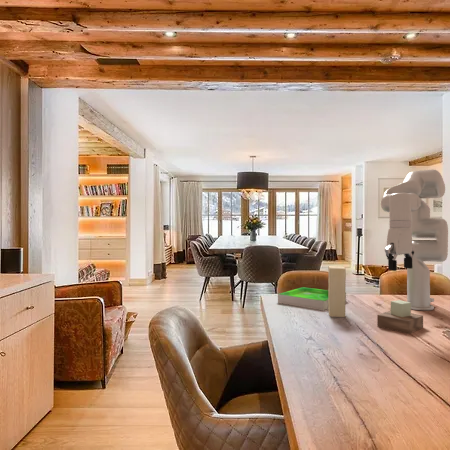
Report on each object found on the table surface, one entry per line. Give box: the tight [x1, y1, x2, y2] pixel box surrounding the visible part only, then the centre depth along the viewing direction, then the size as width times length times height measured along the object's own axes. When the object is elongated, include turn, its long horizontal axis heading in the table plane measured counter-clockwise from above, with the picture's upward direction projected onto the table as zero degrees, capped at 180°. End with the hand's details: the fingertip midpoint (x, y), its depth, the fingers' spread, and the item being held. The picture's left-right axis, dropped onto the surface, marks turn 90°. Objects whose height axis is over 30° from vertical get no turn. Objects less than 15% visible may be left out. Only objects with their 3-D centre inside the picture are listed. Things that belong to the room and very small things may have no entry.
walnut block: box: [376, 310, 424, 334], centre depth 142 cm, size 12×12×5 cm
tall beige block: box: [327, 265, 347, 318], centre depth 161 cm, size 8×7×21 cm
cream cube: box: [390, 299, 412, 317], centre depth 143 cm, size 5×5×5 cm
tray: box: [277, 286, 347, 311], centre depth 188 cm, size 25×25×5 cm
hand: (400, 269), depth 142 cm, fingers open, 9 cm apart
